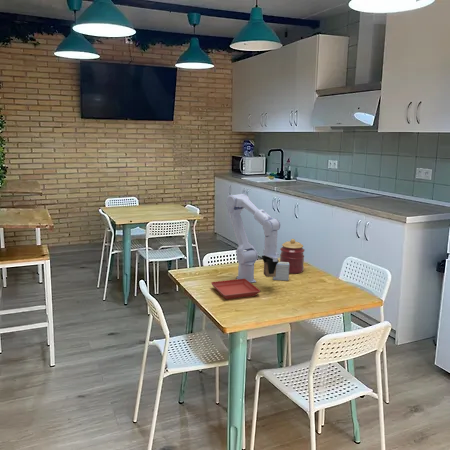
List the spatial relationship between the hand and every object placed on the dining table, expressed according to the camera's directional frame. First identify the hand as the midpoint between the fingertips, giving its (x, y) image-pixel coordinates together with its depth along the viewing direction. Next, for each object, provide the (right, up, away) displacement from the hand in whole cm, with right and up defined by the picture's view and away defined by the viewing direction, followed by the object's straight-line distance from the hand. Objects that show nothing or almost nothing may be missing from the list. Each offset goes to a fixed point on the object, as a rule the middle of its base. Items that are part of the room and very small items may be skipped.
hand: (269, 272), depth 215 cm
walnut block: (0, -2, 0) cm, 2 cm away
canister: (+15, -3, +31) cm, 35 cm away
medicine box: (+7, -6, +16) cm, 19 cm away
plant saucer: (-16, -10, -4) cm, 19 cm away
